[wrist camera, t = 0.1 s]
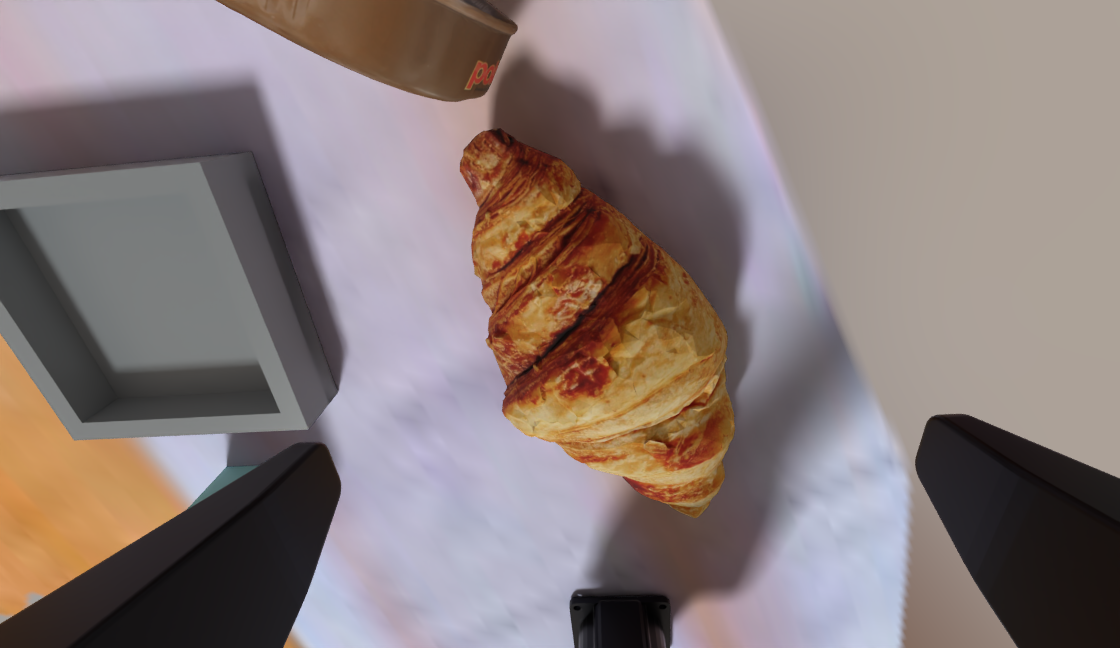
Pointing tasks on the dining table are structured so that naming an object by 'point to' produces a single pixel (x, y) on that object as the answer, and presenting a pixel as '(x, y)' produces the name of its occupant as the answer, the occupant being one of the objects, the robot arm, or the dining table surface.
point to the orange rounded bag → (397, 39)
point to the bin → (158, 300)
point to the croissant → (597, 329)
